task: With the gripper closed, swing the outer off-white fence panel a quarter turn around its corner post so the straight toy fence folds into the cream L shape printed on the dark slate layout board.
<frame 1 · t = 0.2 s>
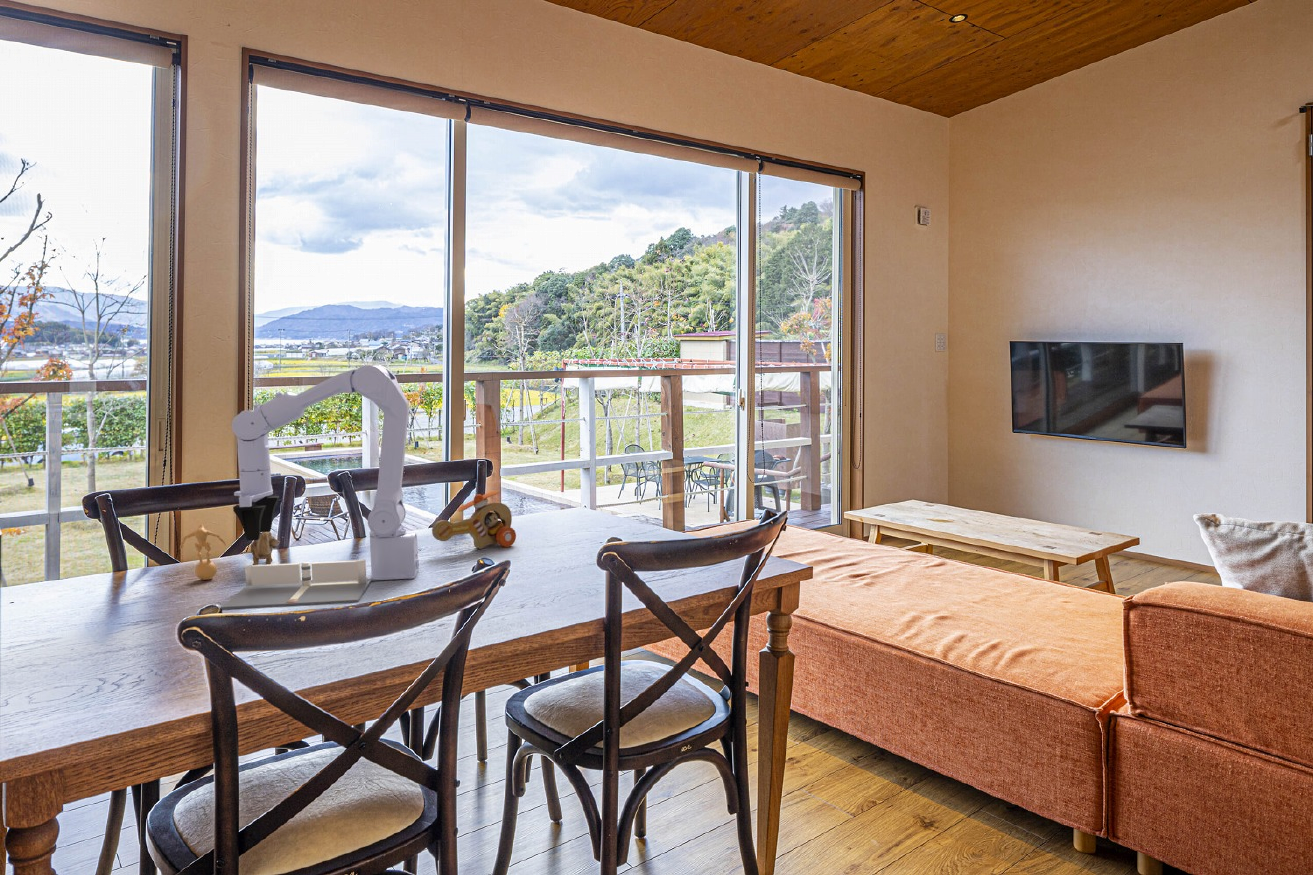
hand: (259, 535, 167), 10 cm above the table, tool pointing down, fingers open, 7 cm apart
fixed fence section: (334, 572, 164), on the layout board
hinged fence panel: (272, 574, 162), point 3 cm above the table, hinge at 0.0°
figurine: (205, 581, 169), on the table
layout board: (301, 593, 160), on the table
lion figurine: (265, 568, 179), on the table
toy helicopter: (477, 549, 195), on the table
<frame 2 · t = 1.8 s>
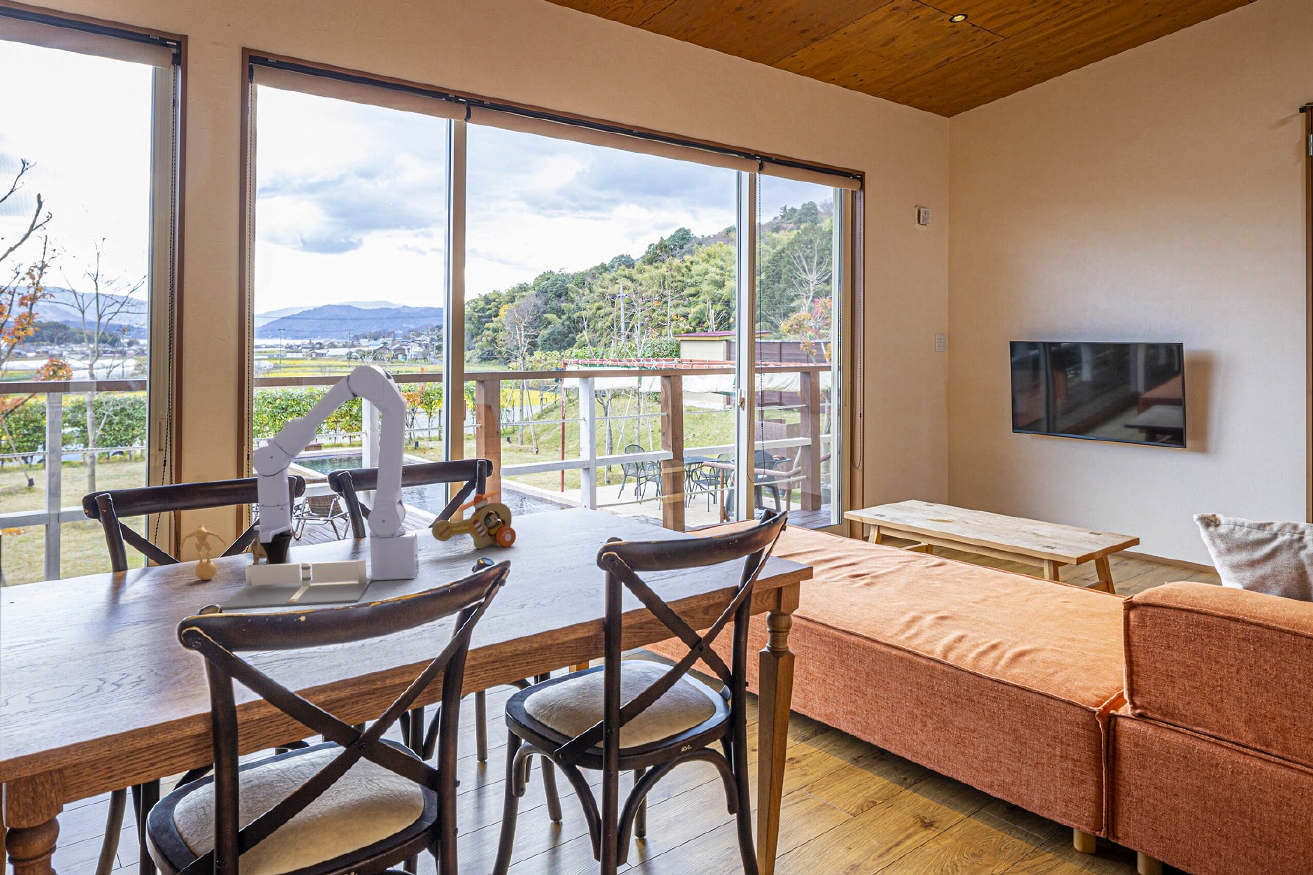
hand: (277, 569, 168), 2 cm above the table, tool pointing down, fingers closed
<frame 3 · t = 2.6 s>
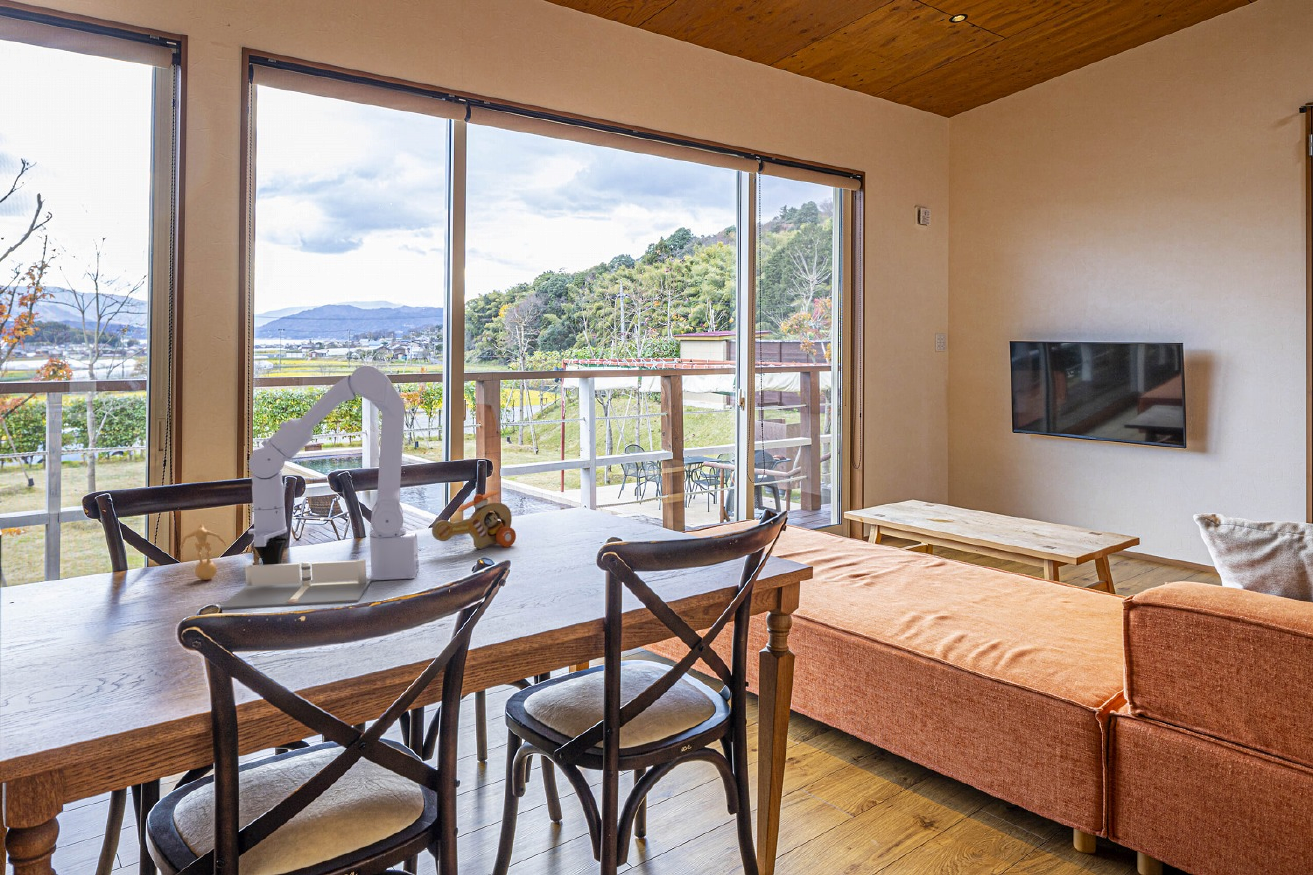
hand: (272, 573, 165), 2 cm above the table, tool pointing down, fingers closed
nothing on the table moved.
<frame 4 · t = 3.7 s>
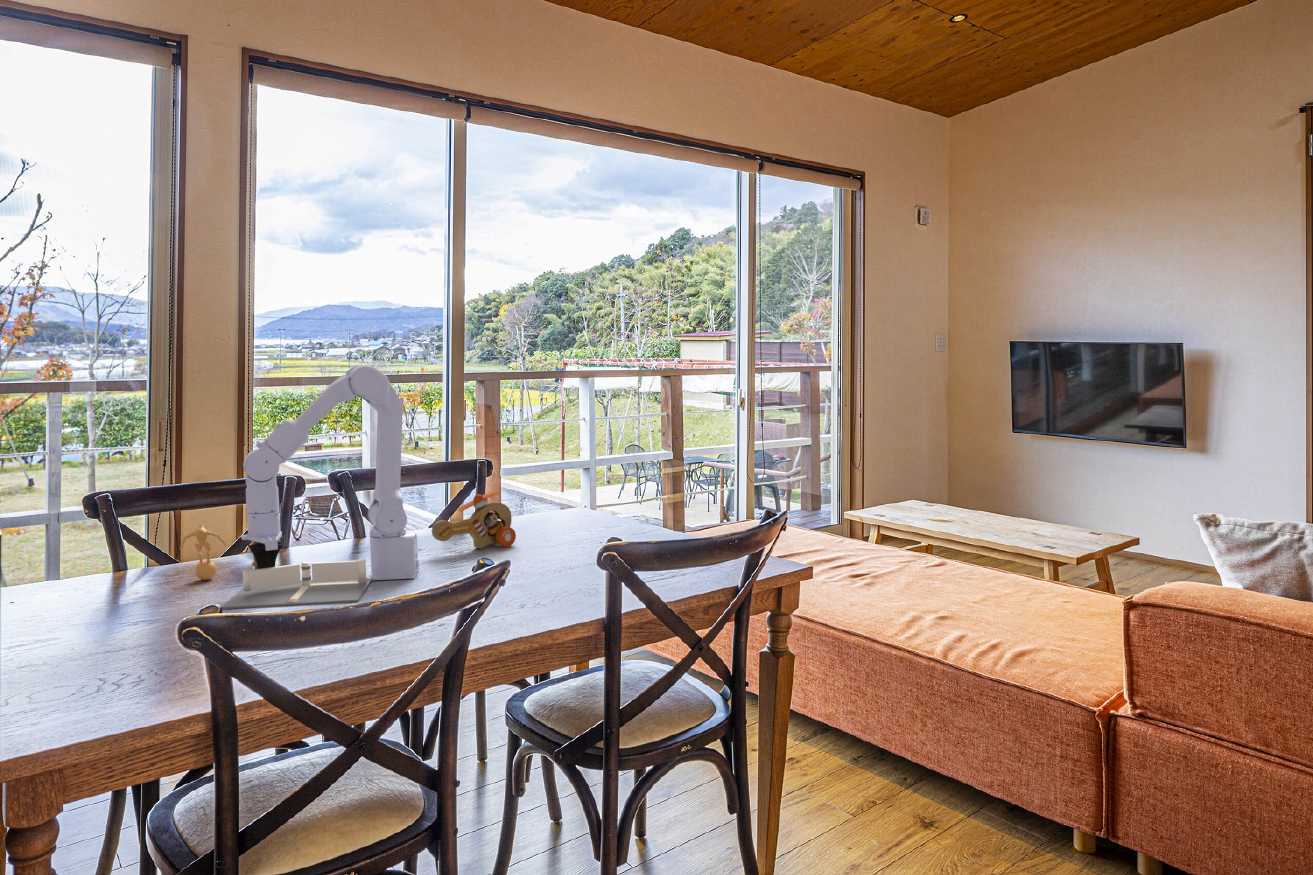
hand: (266, 579, 161), 2 cm above the table, tool pointing down, fingers closed, pressing on hinged fence panel
hinged fence panel: (271, 577, 160), point 3 cm above the table, hinge at 22.9°, touching gripper
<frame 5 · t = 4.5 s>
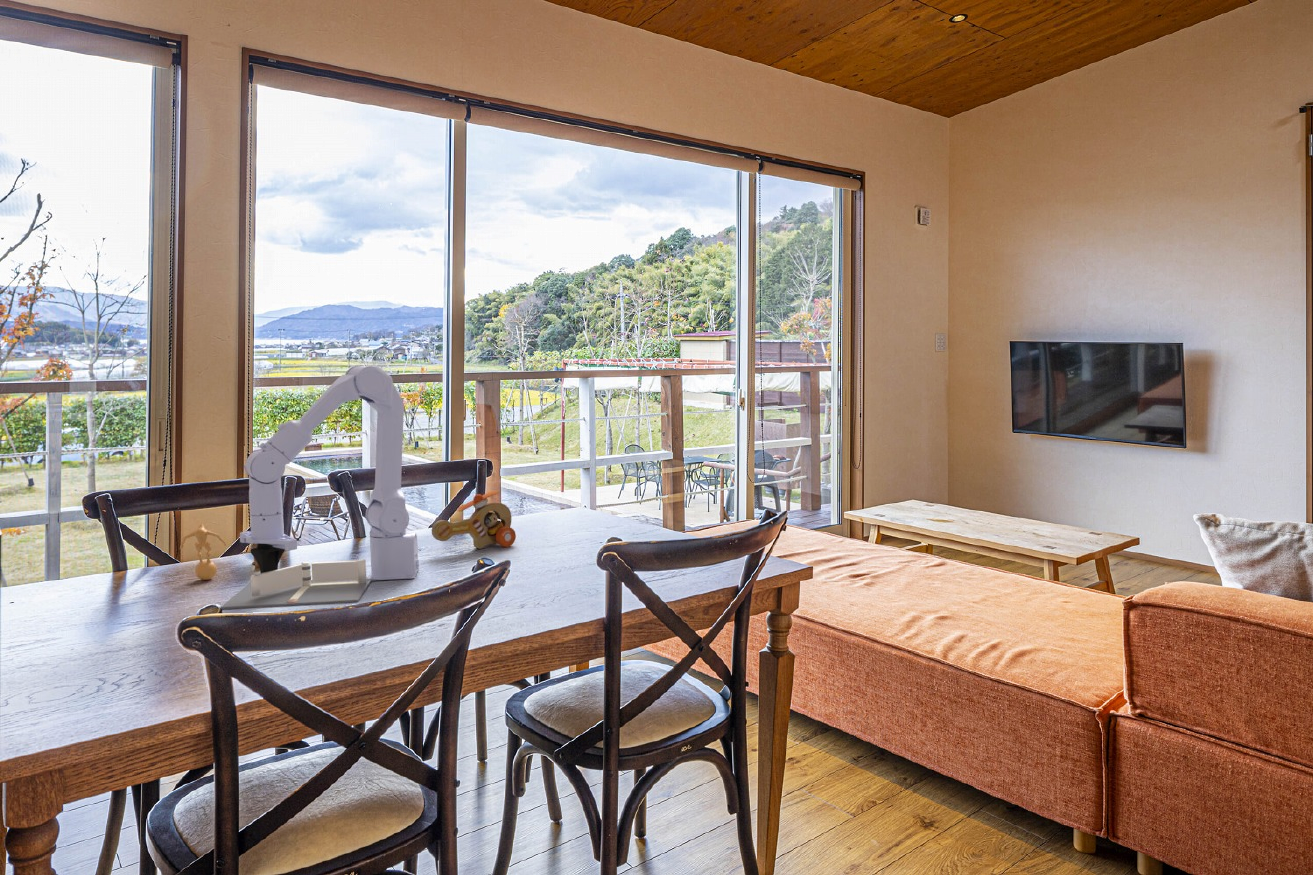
hand: (269, 582, 158), 2 cm above the table, tool pointing down, fingers closed, pressing on hinged fence panel
hinged fence panel: (276, 580, 158), point 3 cm above the table, hinge at 47.6°, touching gripper
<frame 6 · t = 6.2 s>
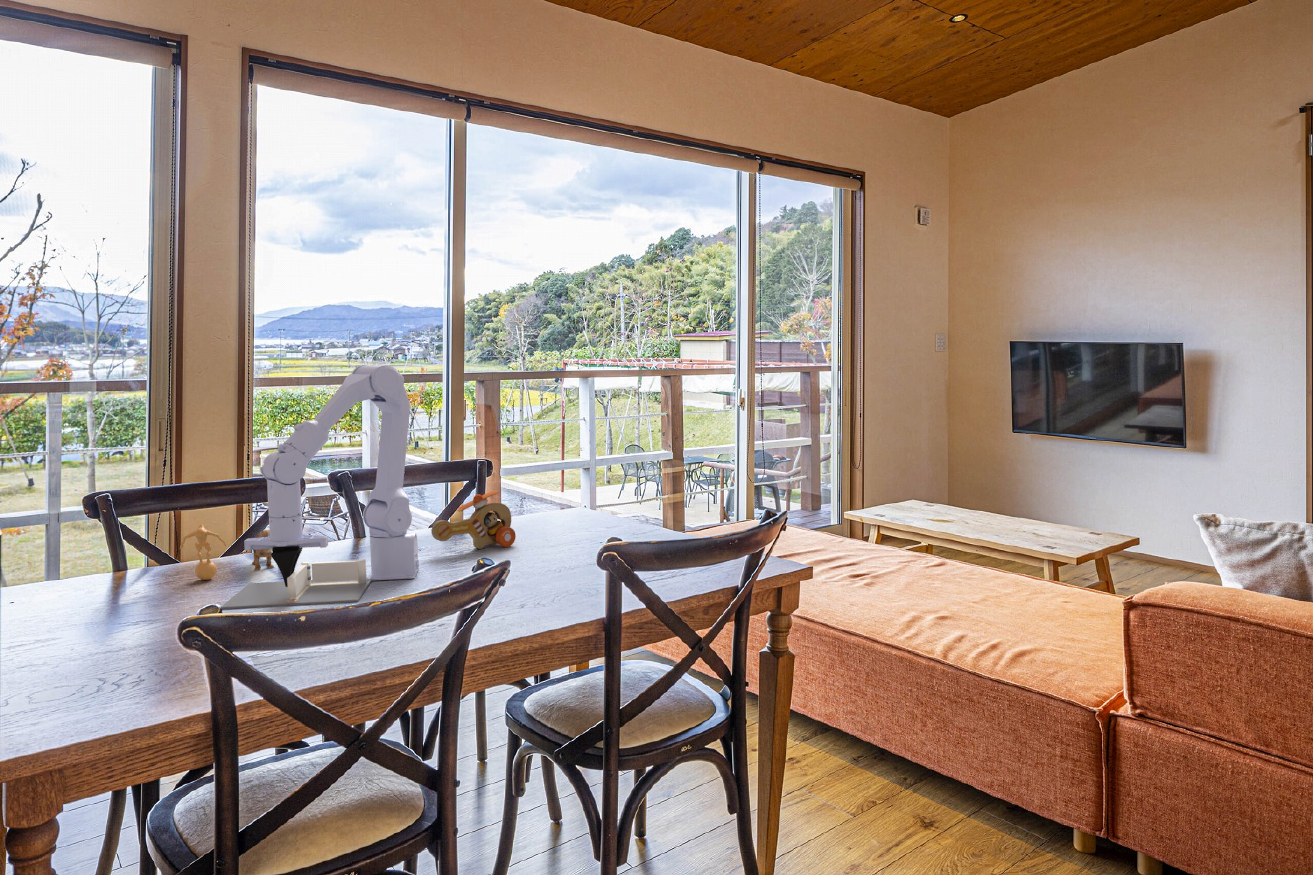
hand: (288, 585, 156), 2 cm above the table, tool pointing down, fingers closed
hinged fence panel: (297, 581, 157), point 3 cm above the table, hinge at 90.3°, touching gripper
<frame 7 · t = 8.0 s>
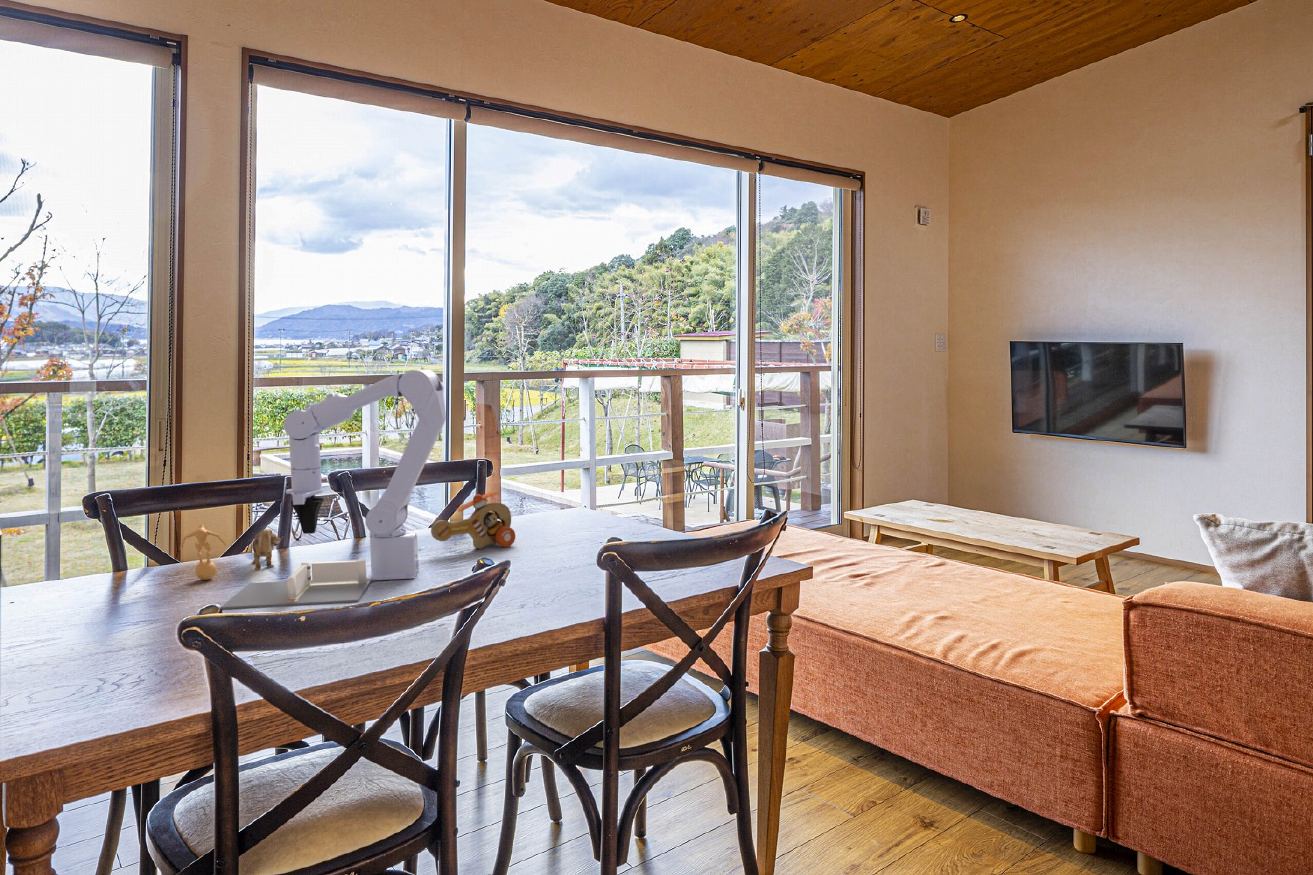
hand: (309, 532, 170), 9 cm above the table, tool pointing down, fingers closed
hinged fence panel: (298, 581, 157), point 3 cm above the table, hinge at 90.4°
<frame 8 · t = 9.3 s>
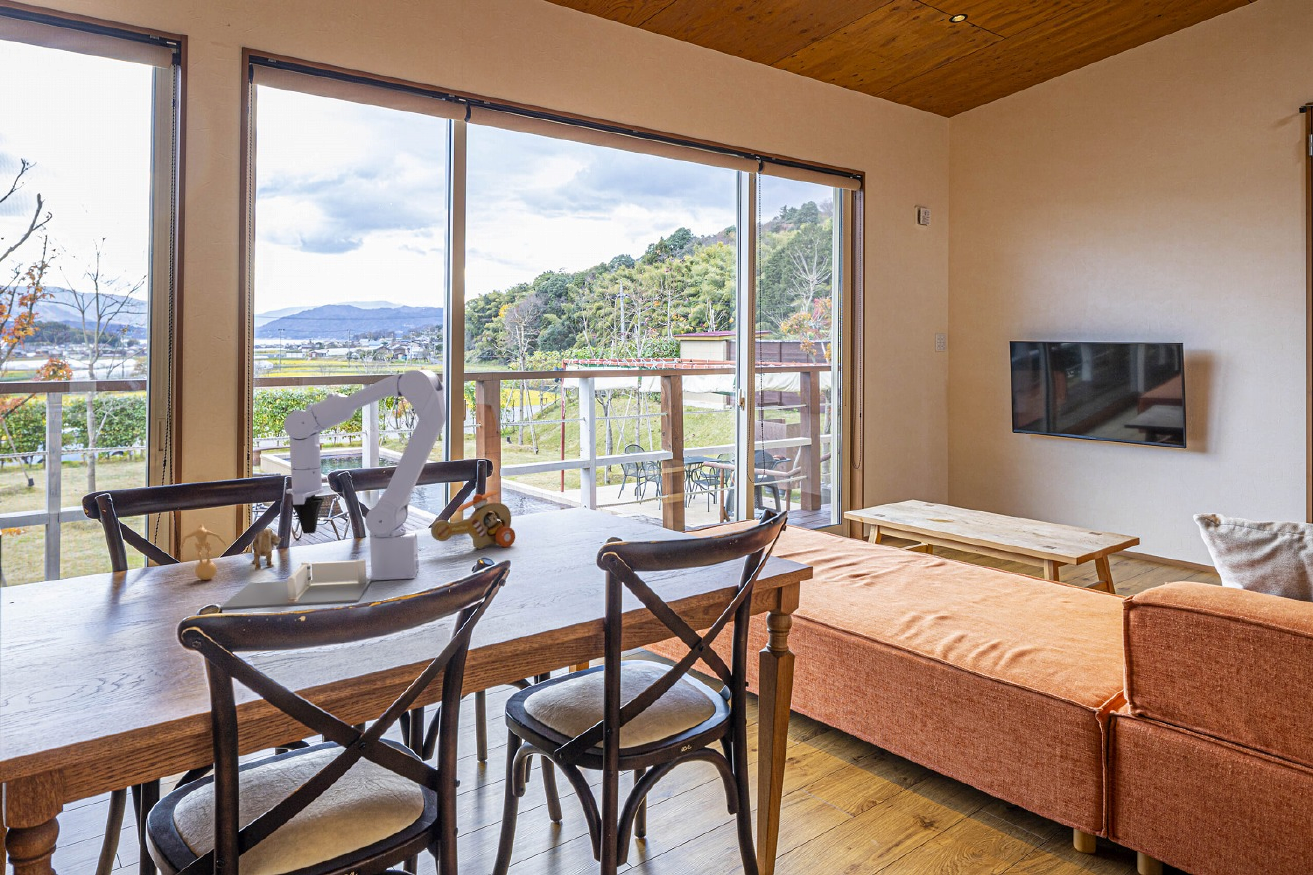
hand: (309, 532, 170), 9 cm above the table, tool pointing down, fingers closed
at the end: hinged fence panel at +90° (first picture: +0°); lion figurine moved 2.7 cm from its start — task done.
